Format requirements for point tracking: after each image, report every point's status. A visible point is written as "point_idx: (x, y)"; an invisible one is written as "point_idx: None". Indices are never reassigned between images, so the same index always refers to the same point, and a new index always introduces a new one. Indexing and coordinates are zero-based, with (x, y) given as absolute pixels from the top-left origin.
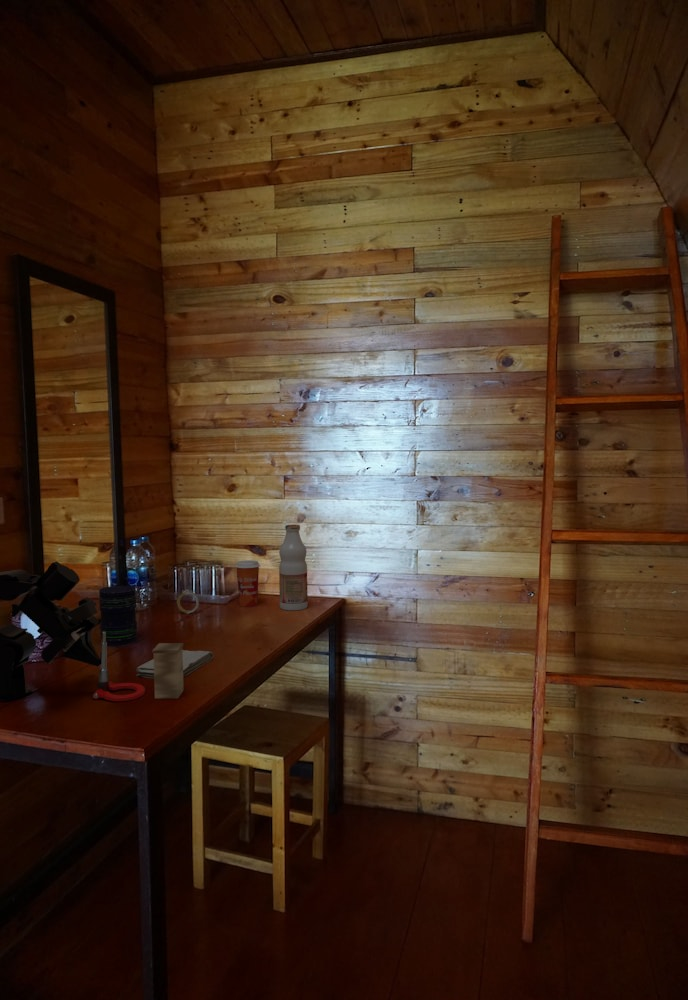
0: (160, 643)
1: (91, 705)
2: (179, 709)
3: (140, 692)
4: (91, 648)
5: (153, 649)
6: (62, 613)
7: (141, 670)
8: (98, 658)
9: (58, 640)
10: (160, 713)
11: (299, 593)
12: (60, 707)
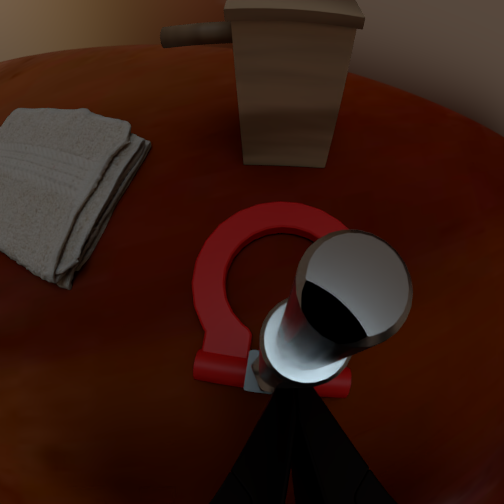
0: (228, 5)
1: (398, 375)
2: (393, 107)
3: (305, 208)
4: (283, 494)
5: (346, 14)
6: None
7: (67, 258)
8: (292, 404)
9: None
10: (427, 142)
11: None
12: (406, 479)
